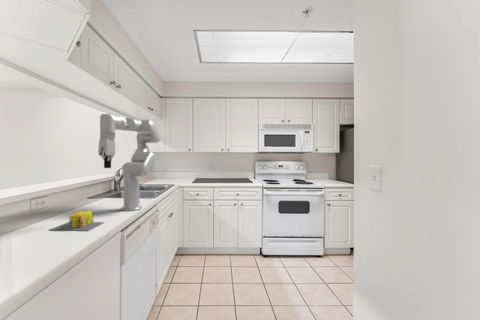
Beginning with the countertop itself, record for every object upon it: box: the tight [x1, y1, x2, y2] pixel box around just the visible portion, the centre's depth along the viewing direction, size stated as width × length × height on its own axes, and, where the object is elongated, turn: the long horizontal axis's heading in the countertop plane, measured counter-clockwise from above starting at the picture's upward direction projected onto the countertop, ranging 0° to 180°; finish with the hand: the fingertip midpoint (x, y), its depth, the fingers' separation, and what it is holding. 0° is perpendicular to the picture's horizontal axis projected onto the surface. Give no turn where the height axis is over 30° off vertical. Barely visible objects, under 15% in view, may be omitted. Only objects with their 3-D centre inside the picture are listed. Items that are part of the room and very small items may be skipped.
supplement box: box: [69, 210, 94, 228], centre depth 127 cm, size 6×6×11 cm
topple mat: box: [49, 221, 105, 232], centre depth 125 cm, size 14×19×1 cm
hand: (107, 167), depth 141 cm, fingers closed
